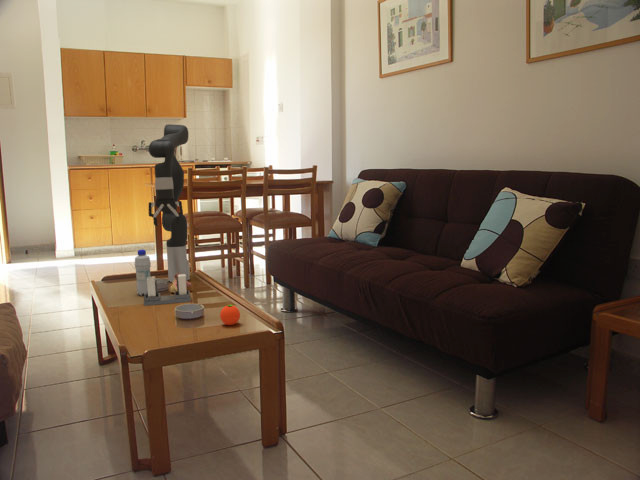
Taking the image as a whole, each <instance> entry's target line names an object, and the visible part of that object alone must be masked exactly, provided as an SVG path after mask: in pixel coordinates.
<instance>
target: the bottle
mask: <svg viewBox="0 0 640 480" xmlns="http://www.w3.org/2000/svg"><path fill="white" fill-rule="evenodd" d="M146 252H147V251H146V250H145V249H139V250H137V256H136V257H135V258H134V269H135V276H136V292H137V295H138V296H144V295H145V294H148V287H147V277H152V276H151V266H152V265H151V259H150V256H149V255H146V254H147V253H146Z"/></svg>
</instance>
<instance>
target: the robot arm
mask: <svg viewBox="0 0 640 480" xmlns="http://www.w3.org/2000/svg"><path fill="white" fill-rule="evenodd" d="M188 140H189V129H188V127H187V126H186V125H183V124H165V126H164V129H163V136H162V137H161V138H158V139H154V140H152V141H151V142H149V145H148V154H149V155H150V156H151V157H152V158H156V159H158V158H159V159H161V158H163V159H164V161H163V162H159V163H157V164H155V165H154V177H155V179H154V192H155V201H154V202H151V201H149V202H148V216H149V217H150V218H151V217H152V218H153V226H155V227H158V215H159V213H160V212H162V214H161V224H162V225H161V226H162V228H163V229H164V230H165V231H166V232H169V233H170V238H169V239H167V240H166V241H165V242H166V260H167V272H168V273H167V275H168V277H167V278H168V282H169V281H170V282H169V283H173V280H175V279H174V276H175V274H176V273H181V274H185V275H186V281H189V280H191V279H190V273H191V272H190V261H189V260H188V256H187V255H188V254H187V240H188V220H187V218H186V216H185V214H184V211H183V204H182V203H183V202H182V200H179V198H180V196H181V193H182V192H183V189H184V185H185V172H184V169H183V167H182V165H181V164H180V162H179V161H178V159H177V157H176V156H175V151H176V148H177V147H180V146H182V145H185V144H187V143H188ZM178 200H179V201H178ZM154 206H155V207H156V208H157V209H156V211H155V213H153V208H154ZM178 207H179V212H177V211H178V209H177V208H178Z"/></svg>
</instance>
